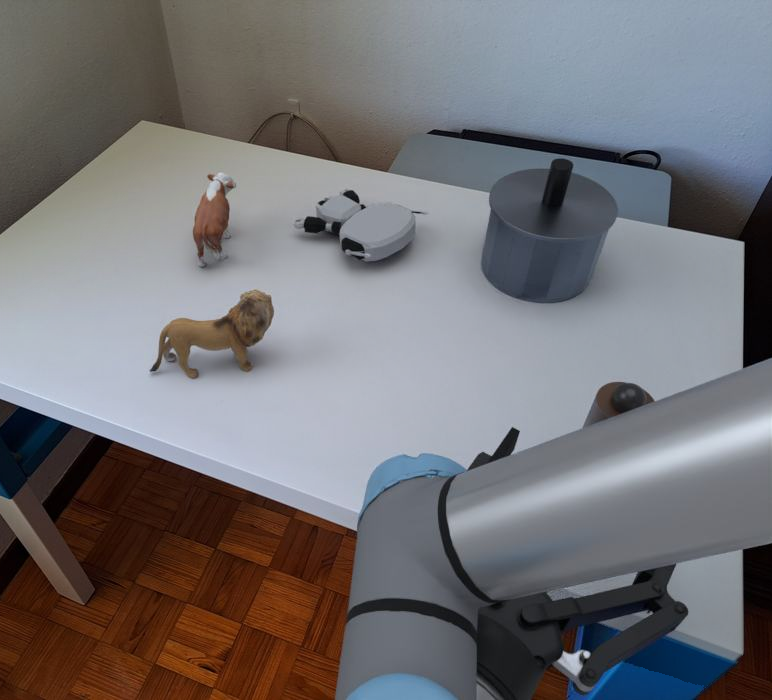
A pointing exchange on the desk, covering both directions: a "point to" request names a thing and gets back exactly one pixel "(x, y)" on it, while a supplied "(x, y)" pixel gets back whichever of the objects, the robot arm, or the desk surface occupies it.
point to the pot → (538, 264)
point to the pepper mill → (616, 401)
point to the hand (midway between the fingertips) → (587, 476)
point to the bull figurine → (213, 217)
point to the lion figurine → (219, 332)
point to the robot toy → (363, 225)
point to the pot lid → (553, 204)
